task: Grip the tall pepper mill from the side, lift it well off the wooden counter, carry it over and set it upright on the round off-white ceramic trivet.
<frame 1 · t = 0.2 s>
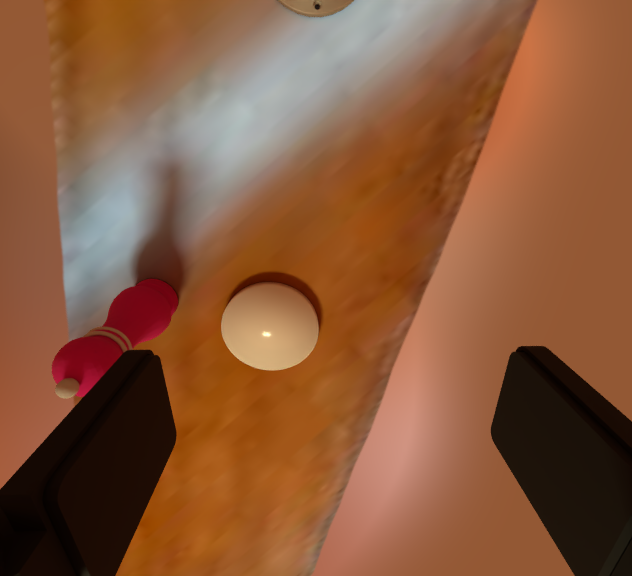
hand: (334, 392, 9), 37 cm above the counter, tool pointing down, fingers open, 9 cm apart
trivet: (271, 325, 50), on the counter
pepper mill: (156, 297, 49), on the counter
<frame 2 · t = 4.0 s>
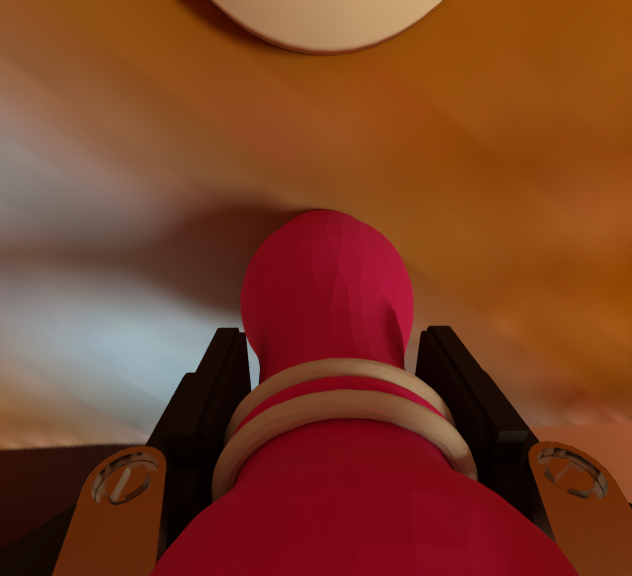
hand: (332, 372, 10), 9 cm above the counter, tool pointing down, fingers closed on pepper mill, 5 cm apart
pepper mill: (323, 264, 19), on the counter, touching gripper
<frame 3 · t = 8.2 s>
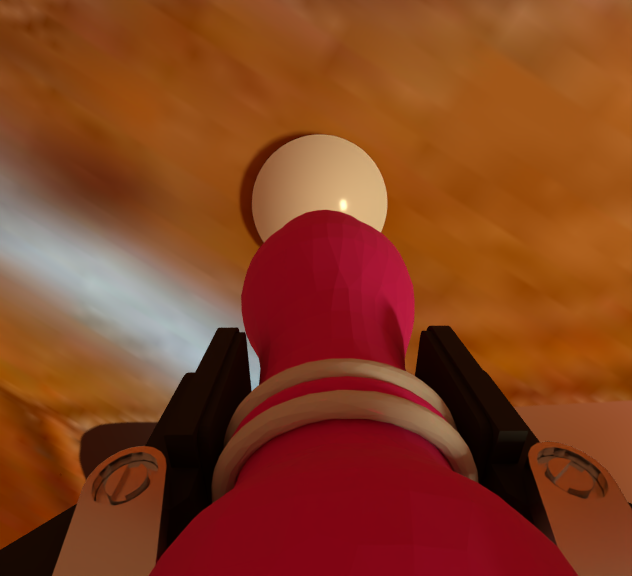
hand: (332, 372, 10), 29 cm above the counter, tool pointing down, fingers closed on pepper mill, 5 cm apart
trivet: (319, 206, 36), on the counter
pepper mill: (324, 264, 19), point 19 cm above the counter, touching gripper
when the fingers open (12 cm above the counter, at t = 12.3 s): pepper mill drops 1 cm, resting on trivet.
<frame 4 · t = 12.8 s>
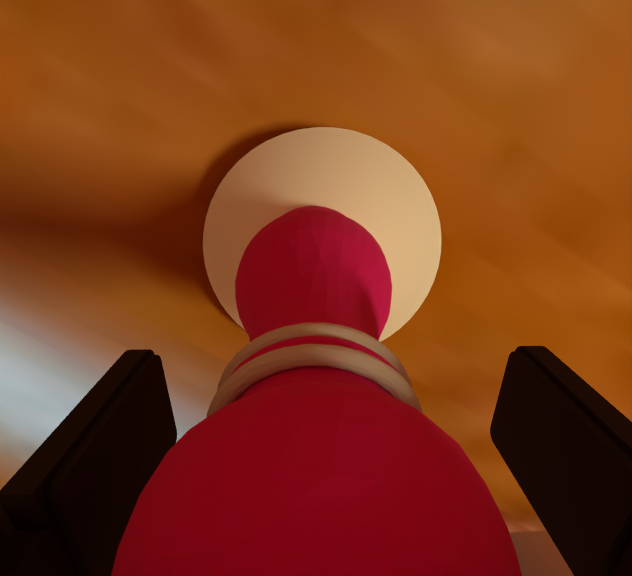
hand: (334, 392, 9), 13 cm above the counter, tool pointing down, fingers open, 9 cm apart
trivet: (321, 250, 21), on the counter
pepper mill: (313, 257, 20), point 1 cm above the counter, touching trivet
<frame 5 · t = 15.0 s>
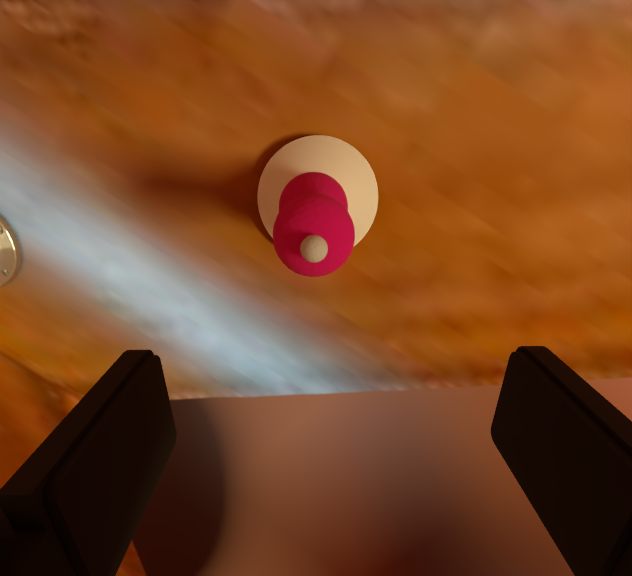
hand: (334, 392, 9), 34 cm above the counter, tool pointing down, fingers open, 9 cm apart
trivet: (317, 199, 41), on the counter
pepper mill: (313, 201, 40), point 1 cm above the counter, touching trivet
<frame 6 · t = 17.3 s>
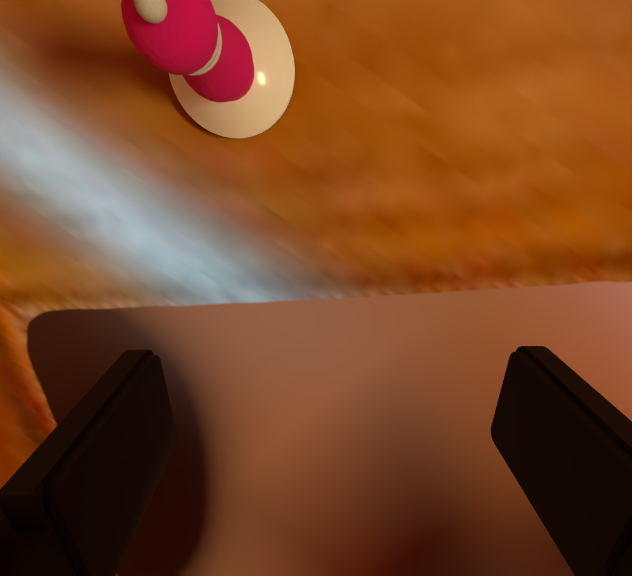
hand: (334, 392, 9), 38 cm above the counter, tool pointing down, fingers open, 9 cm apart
trivet: (234, 71, 39), on the counter
pepper mill: (226, 70, 38), point 1 cm above the counter, touching trivet
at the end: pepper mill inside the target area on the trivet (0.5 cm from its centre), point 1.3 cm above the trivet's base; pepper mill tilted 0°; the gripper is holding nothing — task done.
